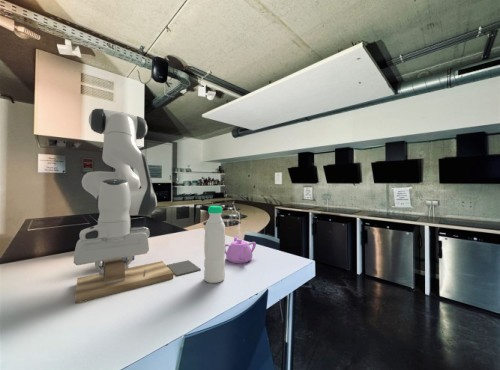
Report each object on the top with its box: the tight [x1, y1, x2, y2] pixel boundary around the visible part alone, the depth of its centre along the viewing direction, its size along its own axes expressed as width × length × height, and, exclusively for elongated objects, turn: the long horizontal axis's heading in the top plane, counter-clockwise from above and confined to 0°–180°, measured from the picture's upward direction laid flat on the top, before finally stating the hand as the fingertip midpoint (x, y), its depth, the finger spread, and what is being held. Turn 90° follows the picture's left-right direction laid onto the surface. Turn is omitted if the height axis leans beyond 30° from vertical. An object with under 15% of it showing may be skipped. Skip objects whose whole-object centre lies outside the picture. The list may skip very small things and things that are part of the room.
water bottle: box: [203, 205, 226, 284], centre depth 72 cm, size 7×7×25 cm
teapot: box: [225, 235, 257, 264], centre depth 92 cm, size 12×14×9 cm
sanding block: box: [103, 258, 126, 285], centre depth 68 cm, size 9×5×5 cm, turn 37°
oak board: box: [74, 260, 175, 304], centre depth 70 cm, size 14×26×2 cm, turn 128°
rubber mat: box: [166, 260, 202, 277], centre depth 82 cm, size 12×9×1 cm
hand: (113, 272), depth 68 cm, fingers closed on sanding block, 5 cm apart
